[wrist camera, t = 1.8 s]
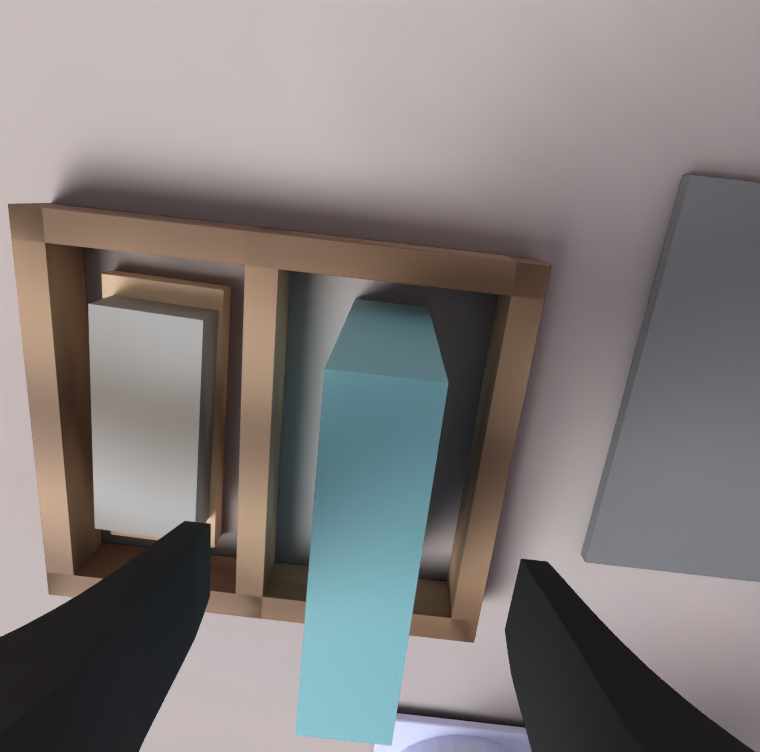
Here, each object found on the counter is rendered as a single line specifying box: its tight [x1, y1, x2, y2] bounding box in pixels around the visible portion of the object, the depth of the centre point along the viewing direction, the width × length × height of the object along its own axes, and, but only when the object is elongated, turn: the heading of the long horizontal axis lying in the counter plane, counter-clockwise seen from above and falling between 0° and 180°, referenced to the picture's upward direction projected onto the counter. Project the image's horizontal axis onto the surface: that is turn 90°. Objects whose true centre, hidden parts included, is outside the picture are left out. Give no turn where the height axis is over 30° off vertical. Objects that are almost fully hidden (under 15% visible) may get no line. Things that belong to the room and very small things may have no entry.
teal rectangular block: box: [296, 299, 448, 746], centre depth 16 cm, size 10×2×8 cm, turn 174°
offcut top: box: [88, 295, 219, 538], centre depth 18 cm, size 8×4×2 cm, turn 172°
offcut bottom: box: [101, 270, 231, 548], centre depth 20 cm, size 10×4×2 cm, turn 173°
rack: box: [8, 203, 551, 643], centre depth 19 cm, size 14×16×2 cm
